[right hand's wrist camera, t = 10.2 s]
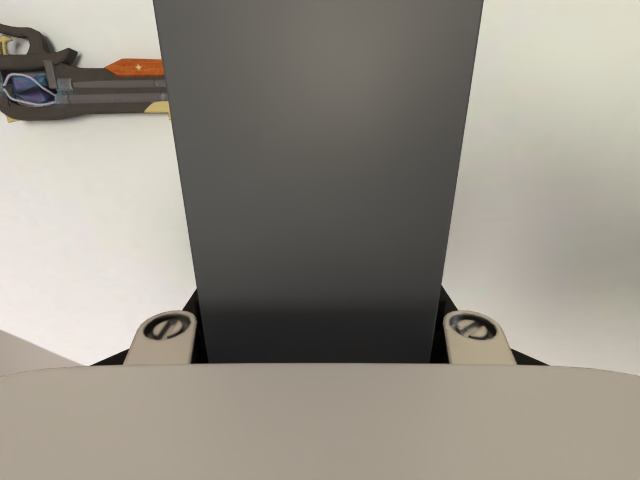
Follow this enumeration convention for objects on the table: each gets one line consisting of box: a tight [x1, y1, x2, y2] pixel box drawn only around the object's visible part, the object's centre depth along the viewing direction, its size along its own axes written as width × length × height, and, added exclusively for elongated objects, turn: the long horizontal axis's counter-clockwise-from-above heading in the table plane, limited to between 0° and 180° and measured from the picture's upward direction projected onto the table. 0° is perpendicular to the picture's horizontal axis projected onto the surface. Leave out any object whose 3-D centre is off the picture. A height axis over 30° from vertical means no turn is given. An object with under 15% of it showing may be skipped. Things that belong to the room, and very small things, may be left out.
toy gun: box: [0, 24, 171, 123], centre depth 26 cm, size 3×19×10 cm
